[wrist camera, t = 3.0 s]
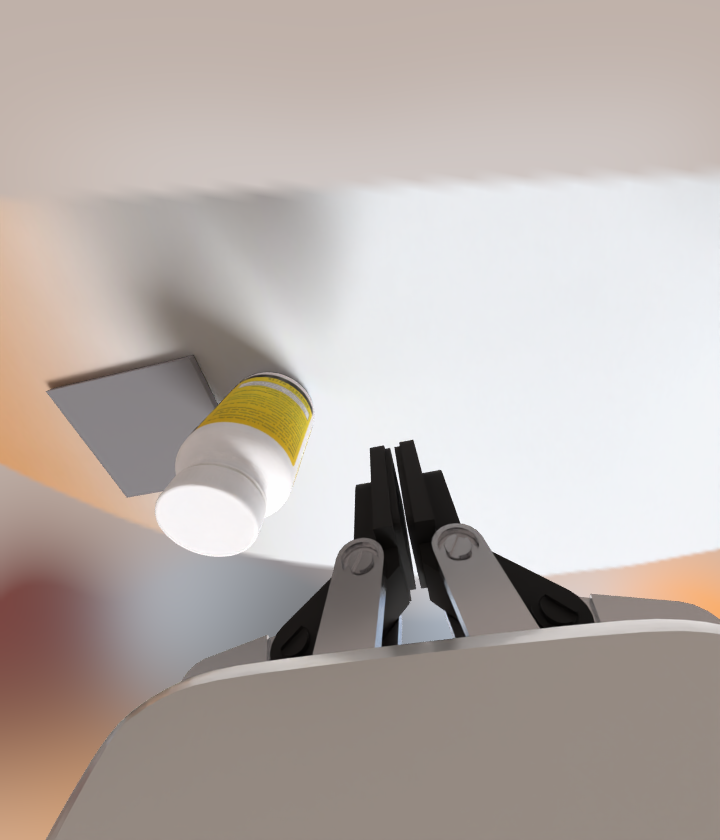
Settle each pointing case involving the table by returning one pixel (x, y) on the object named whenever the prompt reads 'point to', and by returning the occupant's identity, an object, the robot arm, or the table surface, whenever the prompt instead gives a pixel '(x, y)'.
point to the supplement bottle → (237, 466)
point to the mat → (138, 419)
